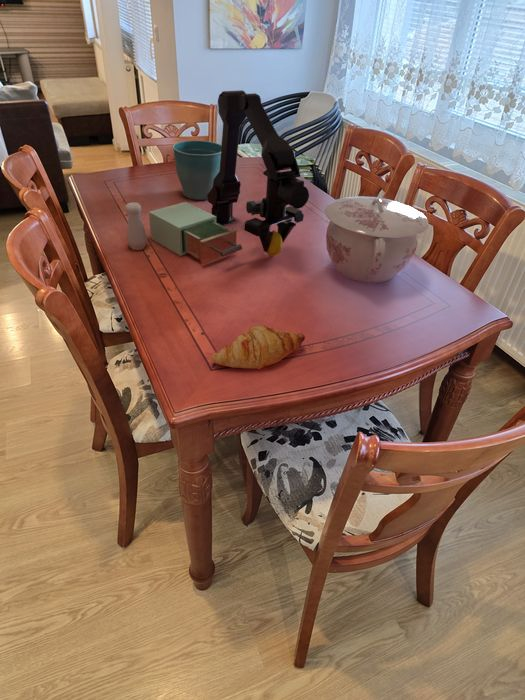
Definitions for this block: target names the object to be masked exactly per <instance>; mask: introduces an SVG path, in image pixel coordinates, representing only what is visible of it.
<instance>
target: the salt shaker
mask: <svg viewBox="0 0 525 700" xmlns="http://www.w3.org/2000/svg"><path fill="white" fill-rule="evenodd" d="M125 212H126V213H127V214H128V215H127V229H126V230H127V231H126V242H127V244H128V246H129V247H130V248H131V250H133V251H140V250H141V251H142V250H144V249H145V247H146V246H147V243H148V236H147V233H146V229H145V226H144V223H143V219H142V215H141V213H142V205H141V204H140V203H139V202H136V201H135V202H134V201H133V202H128V203H127V204H125Z"/></svg>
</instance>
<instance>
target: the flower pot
mask: <svg viewBox="0 0 525 700" xmlns="http://www.w3.org/2000/svg"><path fill="white" fill-rule="evenodd" d="M221 145H222V144H220V143H217V142H214V141H208V140H200V139H199V140H196V139H195V140H192V139H190V140H182V141H178V142H175V143H174V144H173V145H172V150H173V157H174V165H175V171H176V175H177V178H178V180H179V183H180V185H181V188H182V194H183V196H184V197H186V198H189V199H190V200H197V201H204V200H208V198H207V195H208V193H209V192H210V190H211V189H212V187H213V181H214V178H215V177H216V175H217V174H218V173H219V170H220V158H221Z"/></svg>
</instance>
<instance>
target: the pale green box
mask: <svg viewBox="0 0 525 700" xmlns="http://www.w3.org/2000/svg"><path fill="white" fill-rule="evenodd" d="M148 218H149V220H148V221H149V228H150V229H149V230H150V239H151V240H152V241H154V242H155V243H157V244H158V245H160V246H163V247H164V248H166V249H167V250H168V251H171V252H173V253H174V254H176V255H178V256H179V257H182V256H185V255H189V254H188V253H187V252H185V251H183V250H182V233H181V230H182V229H185V228H189V227H192V226H195V225H198V224H201V223H205V222H208V221H211V220H212V221H214V222H216V216H214V215H212V213H210V212H208V211H205V210H204V209H202V208H199V207H198V206H197V205H196V206H195V205H194V204H192V203H189V202H187V201H184V202H183V201H182V202H179V203H176V204H172V205H169V206H165V207H162V208H161V207H160V208H158V209H154V210H151V211H148Z"/></svg>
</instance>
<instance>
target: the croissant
mask: <svg viewBox="0 0 525 700" xmlns="http://www.w3.org/2000/svg"><path fill="white" fill-rule="evenodd" d="M305 339H306V336H305V335H304V334H303V333H302V332H298V333H295V332H294V331H293V332H292V331H282V330H280V329H275V328H273V327H269V326H266V325H253V326H251V327H250V328H248V330H247V331H246V332H245V333H244V332H243V333H241V334H240V335H238V336H237V338H236V339H235V340H234V341H232V342H231V343H229V344H226V345H224V346H223V347H222V348H221V349H220V351H217V352H214V353H213V354H212V356H211V360H212V362H213V363H214V364H216V365H219V366H224V367H228V368H234V369H235V368H238V369H239V368H240V369H257V370H261V369H263V368H264V367H267V366H271V365H274V364H276V363H278V362H280V361H281V360H283V359H284V358H286V357H287V356H288V355H290V354H291V353H293V352H295V351H296V350H298V348H299V347H300V346H301V345H302V344H303V342H305Z"/></svg>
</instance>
